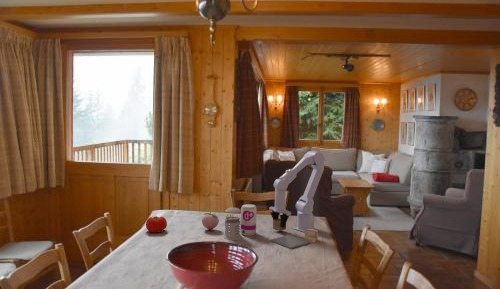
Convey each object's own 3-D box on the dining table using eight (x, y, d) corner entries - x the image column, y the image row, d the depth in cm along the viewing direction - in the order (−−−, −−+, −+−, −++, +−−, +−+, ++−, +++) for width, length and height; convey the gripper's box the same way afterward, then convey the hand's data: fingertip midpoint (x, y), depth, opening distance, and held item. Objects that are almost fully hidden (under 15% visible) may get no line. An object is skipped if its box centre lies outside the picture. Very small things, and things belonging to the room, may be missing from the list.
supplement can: (254, 236, 193) (255, 208, 192) (238, 235, 195) (239, 206, 194) (257, 232, 201) (258, 204, 200) (242, 230, 203) (242, 203, 202)
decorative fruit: (198, 231, 200) (198, 212, 200) (205, 227, 208) (206, 209, 207) (213, 233, 197) (214, 214, 196) (220, 229, 205) (221, 211, 204)
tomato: (169, 228, 203) (169, 215, 203) (162, 234, 193) (162, 220, 192) (150, 227, 205) (150, 214, 204) (142, 233, 194) (142, 219, 193)
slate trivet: (289, 236, 195) (289, 234, 195) (310, 243, 185) (310, 241, 185) (270, 241, 186) (270, 239, 186) (290, 249, 176) (290, 247, 176)
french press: (245, 235, 194) (246, 188, 192) (235, 242, 184) (236, 191, 182) (228, 233, 198) (229, 186, 197) (217, 239, 188) (218, 189, 186)
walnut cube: (279, 227, 206) (279, 218, 206) (286, 229, 202) (286, 220, 202) (272, 228, 203) (273, 219, 203) (279, 231, 199) (279, 221, 199)
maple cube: (308, 238, 193) (308, 228, 193) (317, 240, 190) (317, 230, 190) (304, 240, 189) (304, 231, 188) (314, 242, 186) (314, 232, 186)
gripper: (265, 199, 205) (265, 224, 206) (284, 204, 194) (283, 230, 195) (274, 198, 209) (274, 222, 210) (293, 203, 198) (293, 228, 199)
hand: (279, 226), depth 203 cm, fingers closed on walnut cube, 5 cm apart
